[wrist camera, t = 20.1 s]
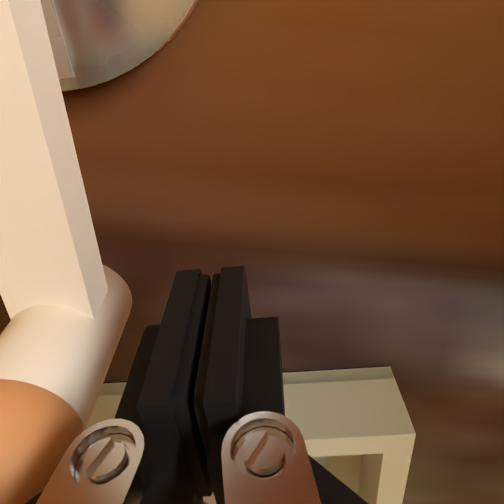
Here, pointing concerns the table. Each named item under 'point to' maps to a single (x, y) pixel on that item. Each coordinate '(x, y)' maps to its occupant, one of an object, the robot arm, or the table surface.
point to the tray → (338, 426)
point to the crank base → (108, 35)
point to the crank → (46, 267)
